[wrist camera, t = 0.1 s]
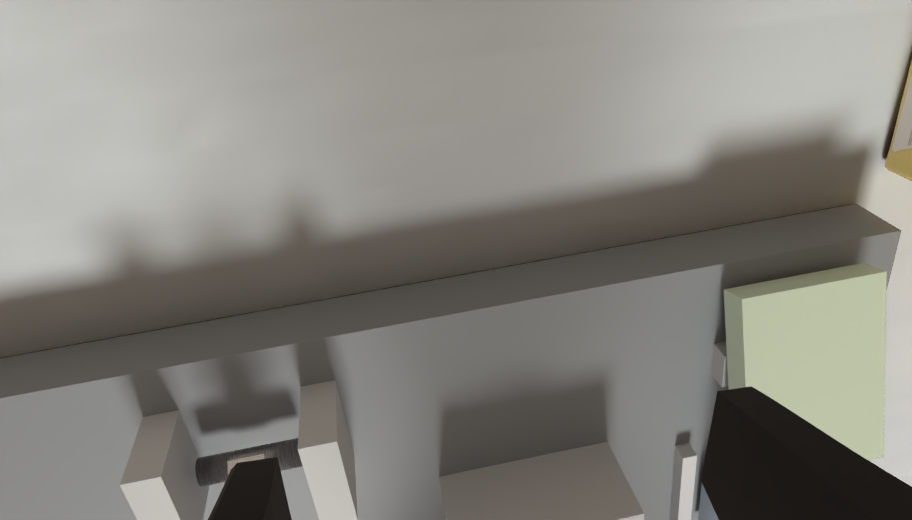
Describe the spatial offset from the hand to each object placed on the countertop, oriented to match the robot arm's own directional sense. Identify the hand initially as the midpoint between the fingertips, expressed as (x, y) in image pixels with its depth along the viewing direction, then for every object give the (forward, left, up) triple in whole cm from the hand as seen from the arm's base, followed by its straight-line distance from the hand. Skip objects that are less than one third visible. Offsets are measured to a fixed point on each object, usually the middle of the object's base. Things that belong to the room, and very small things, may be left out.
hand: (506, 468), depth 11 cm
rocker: (-6, -10, -7) cm, 14 cm away
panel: (-8, +1, -10) cm, 13 cm away
